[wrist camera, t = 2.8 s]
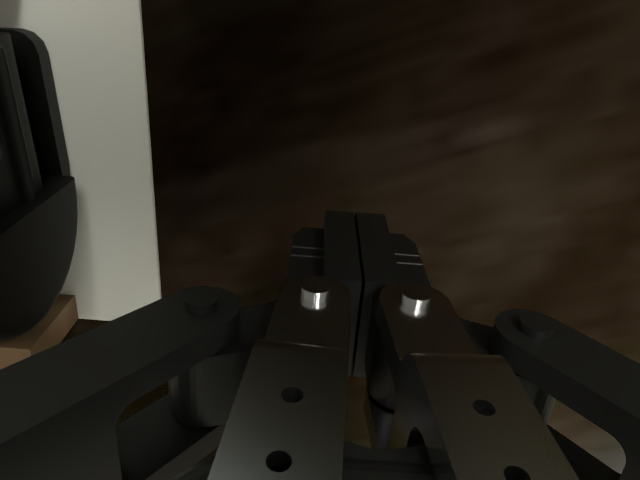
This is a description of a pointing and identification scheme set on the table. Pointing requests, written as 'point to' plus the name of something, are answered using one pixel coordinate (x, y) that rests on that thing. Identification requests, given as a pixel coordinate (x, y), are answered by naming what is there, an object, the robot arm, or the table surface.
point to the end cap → (32, 186)
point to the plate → (102, 146)
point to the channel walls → (42, 332)
